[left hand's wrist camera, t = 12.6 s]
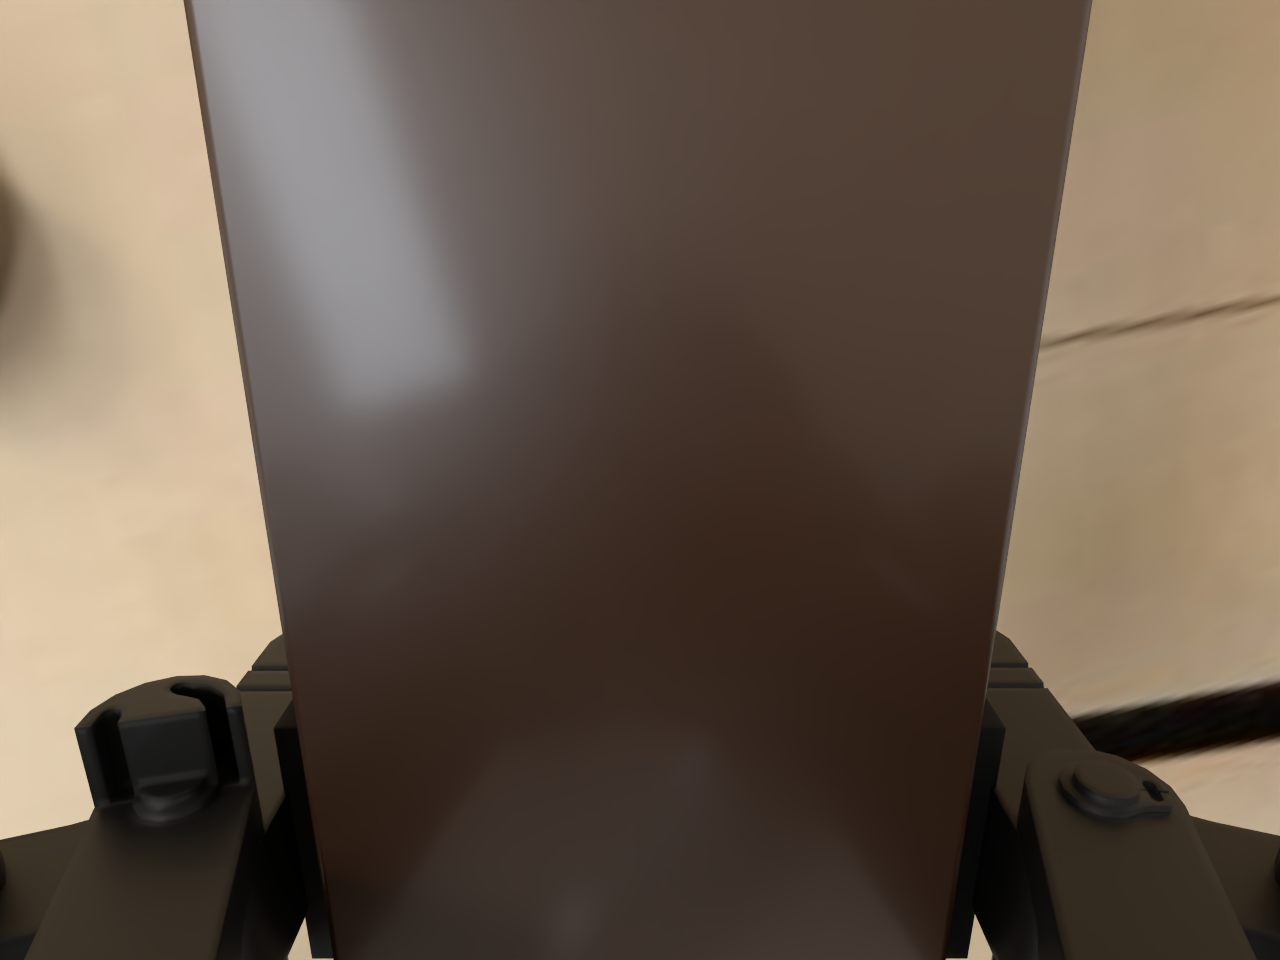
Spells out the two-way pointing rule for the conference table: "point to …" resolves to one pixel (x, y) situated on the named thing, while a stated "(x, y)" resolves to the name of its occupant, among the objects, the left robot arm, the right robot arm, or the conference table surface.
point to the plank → (638, 448)
